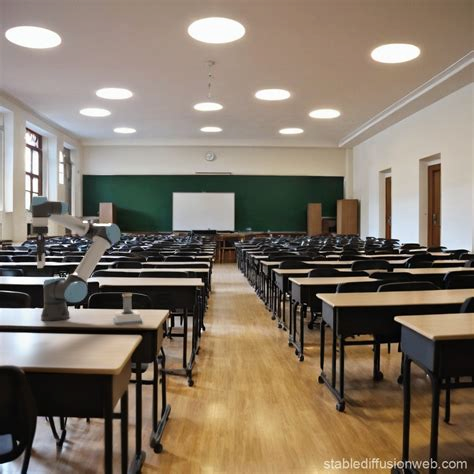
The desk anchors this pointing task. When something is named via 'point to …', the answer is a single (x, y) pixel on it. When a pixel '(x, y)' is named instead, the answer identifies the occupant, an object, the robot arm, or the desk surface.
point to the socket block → (127, 318)
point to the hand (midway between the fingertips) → (41, 266)
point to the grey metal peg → (127, 303)
